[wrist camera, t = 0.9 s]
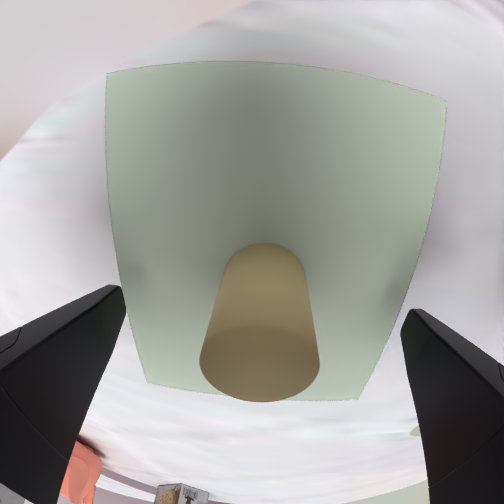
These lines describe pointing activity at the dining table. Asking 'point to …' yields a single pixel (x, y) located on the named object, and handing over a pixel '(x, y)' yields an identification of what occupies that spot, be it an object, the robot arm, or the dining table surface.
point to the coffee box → (180, 495)
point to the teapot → (81, 475)
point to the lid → (267, 221)
